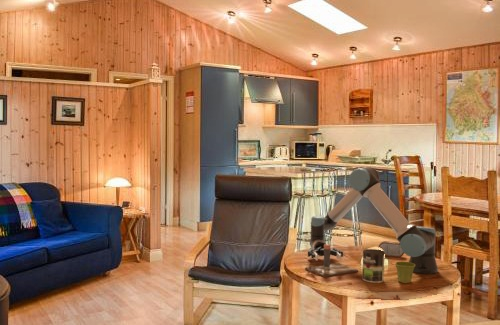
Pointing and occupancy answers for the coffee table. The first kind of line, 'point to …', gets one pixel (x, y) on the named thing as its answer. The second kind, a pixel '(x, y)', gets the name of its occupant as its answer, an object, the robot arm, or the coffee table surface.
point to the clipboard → (331, 270)
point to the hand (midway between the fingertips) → (328, 257)
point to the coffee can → (373, 265)
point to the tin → (391, 248)
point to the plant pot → (404, 271)
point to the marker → (327, 257)
